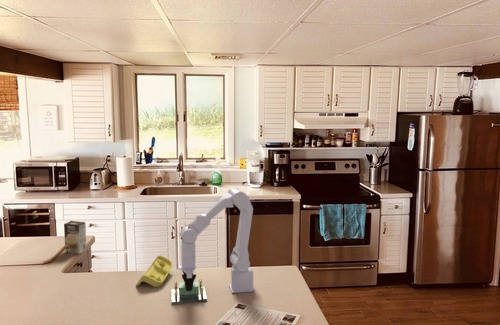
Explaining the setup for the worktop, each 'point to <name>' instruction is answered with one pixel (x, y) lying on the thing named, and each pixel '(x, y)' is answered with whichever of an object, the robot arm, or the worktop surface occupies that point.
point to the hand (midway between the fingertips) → (188, 287)
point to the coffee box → (75, 237)
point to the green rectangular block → (183, 291)
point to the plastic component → (157, 272)
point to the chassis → (188, 295)
